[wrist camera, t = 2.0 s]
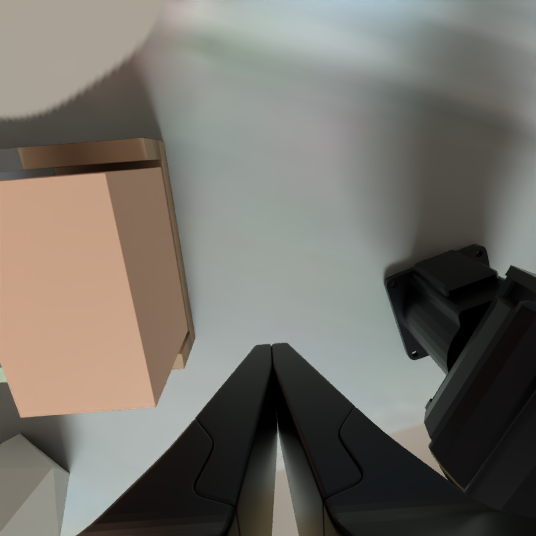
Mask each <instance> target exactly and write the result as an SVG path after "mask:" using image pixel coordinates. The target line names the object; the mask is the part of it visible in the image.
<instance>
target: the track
mask: <svg viewBox="0 0 536 536" xmlns="http://www.w3.org/2000/svg"><path fill="white" fill-rule="evenodd" d="M157 167H161V171H162V177H163V183H164V189H165V195H166V201H167V207H168V213H169V219H170V225H171V231H172V237H173V243H174V249H175V255H176V261H177V267H178V273H179V279H180V285H181V291H182V297H183V303H184V309H185V315H186V321H187V327H188V331H187V334H186V336H185V339H184V341H183V343H182V346H181V348H180V351H179V353H178V355H177V358H176V360H175V362H174V365H173V367H172V369H184V368H185V365H186V362H187V360H188V357H189V354H190V351H191V349H192V346H193V343H194V340H195V334H194V328H193V322H192V316H191V310H190V303H189V297H188V291H187V285H186V278H185V272H184V266H183V260H182V253H181V247H180V241H179V235H178V229H177V222H176V216H175V210H174V204H173V197H172V191H171V185H170V179H169V173H168V166H167V160H166V154H165V148H164V141H160V140H154V139H148V138H134V139H121V140H109V141H96V142H83V143H71V144H58V145H45V146H32V147H20V148H7V149H0V180H11V179H22V178H33V177H44V176H56V175H68V174H81V173H94V172H106V171H119V170H132V169H145V168H157ZM1 382H7V380H6V377H5V374H4V372H3V369H2V366H1V364H0V383H1Z"/></svg>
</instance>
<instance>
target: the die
mask: <svg viewBox="0 0 536 536" xmlns="http://www.w3.org/2000/svg"><path fill="white" fill-rule="evenodd" d="M69 475H70V474H69V473H68V472H67V471H66V470H64V469H63V468H62V467H61V466H59V465H58V464H57V463H56V462H54V461H53V460H52V459H51V458H49V457H48V456H47V455H46V454H45V453H43V452H42V451H41V450H40V449H38V448H37V447H36V446H35V445H33V444H32V443H31V442H30V441H29V440H27V439H26V438H25V437H24V436H22V435H21V434H18V435H16V436H14V437H12V438H10V439H9V440H7V441H5V442H3V443H1V444H0V536H60V534H61V527H62V521H63V514H64V508H65V501H66V494H67V488H68V481H69Z"/></svg>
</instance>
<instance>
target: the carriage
mask: <svg viewBox="0 0 536 536" xmlns="http://www.w3.org/2000/svg"><path fill="white" fill-rule="evenodd" d="M187 331H188V327H187V321H186V315H185V309H184V303H183V297H182V291H181V285H180V279H179V273H178V267H177V261H176V255H175V249H174V243H173V237H172V231H171V225H170V219H169V213H168V207H167V201H166V195H165V189H164V183H163V177H162V171H161V167H157V168H145V169H132V170H119V171H106V172H94V173H81V174H68V175H56V176H44V177H33V178H22V179H11V180H0V364H1V366H2V369H3V372H4V374H5V377H6V380H7V382H8V385H9V388H10V390H11V393H12V396H13V398H14V401H15V404H16V407H17V409H18V412H19V415H20V417H21V418H22V417H35V416H48V415H61V414H74V413H88V412H101V411H114V410H127V409H140V408H153V407H156V405H157V403H158V401H159V398H160V396H161V394H162V391H163V389H164V386H165V384H166V382H167V379H168V377H169V374H170V372H171V370H172V367H173V365H174V362H175V360H176V358H177V355H178V353H179V351H180V348H181V346H182V343H183V341H184V339H185V336H186V334H187Z"/></svg>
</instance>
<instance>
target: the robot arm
mask: <svg viewBox="0 0 536 536" xmlns="http://www.w3.org/2000/svg"><path fill="white" fill-rule="evenodd" d="M477 250H479V253H478V254H477V255H474V254H475V252H476V251H477ZM505 275H506V276H507V277H506V279H504V278H502V277H500V276H498V273H497V271H496V270H494V269H492V268H490V265H489V261H488V256H487V251H486V249H485V248H484V247H483V246H481V245H477V244H475V245H471V246H469V247H466V248H463V249H461V250H458V251H454V250H451V251H448V252H445V253H443V254H440V255H438V256H435V257H432V258H430V259H427V260H424V261H422V262H419V263H416V264H415V266H414V267H413V268H411V269H408V270H405V271H403V272H400V273H397V274H395V275H392V276H390V277H388V278H387V279H386V280H385V282H384V285H385V289H386V292H387V295H388V298H389V301H390V304H391V307H392V311H393V314H394V317H395V320H396V323H397V326H398V329H399V332H400V335H401V339H402V342H403V345H404V348H405V351H406V354H407V355H408V357H409V358H410V359H412V360H417V359H420V358H423V357H426V356H429V355H430V356H431V358H432V359H433V360H434V361H435V362H436V363H437V365H438V366H439V367H440V368H441V369H442V371H443V372H444V373H445V374H446V375H447V376H446V378H445V379H444V381H443V382H442V384H441V386H440V387H439V389H438V391H437V392H436V394H435V396H434V397H433V399H430V400H429V401H428V403H427V405H426V407H425V408H426V412H425V419H424V423H425V426H426V429H427V431H428V434H429V437H430V438H431V442H430V444H429V449H430V451H431V453H432V455H433V457H434V458H435V459H436V461H437V462H438V464H439V466H440V468H441V469H442V471H443V473H444V475H445V476H446V478H447V479H448V480H449V481H448V480H447V479H445V478H444V477H443V476H442V475H440V474H439V473H438V472H436V471H434V470H433V469H432V468H431V467H429V466H428V465H427V464H425V463H424V462H423V461H421V460H420V459H419V458H417V457H416V456H414V455H413V454H412V453H411V452H409V451H408V450H407V449H405V448H404V447H402V446H401V445H400V444H399V443H397V442H396V441H395V440H393V439H392V438H391V437H390V436H389V435H387V434H386V433H385V432H383V431H382V430H381V429H380V428H379V427H378V426H376V425H375V424H374V423H373V422H372V421H371V420H370V419H368V418H367V417H366V416H365V415H364V414H363V413H362V412H361V411H360V410H359V409H358V408H356V407H355V406H354V405H353V404H352V403H351V402H350V401H349V400H348V399H347V398H346V397H345V396H344V395H342V394H341V393H340V392H339V391H338V390H337V389H336V388H335V387H334V386H333V385H332V384H331V383H330V382H329V381H327V380H326V379H325V378H324V377H323V376H322V375H321V374H320V373H319V372H318V371H317V370H316V369H315V368H314V367H312V366H311V365H310V364H309V363H308V362H307V361H306V360H305V359H304V358H303V357H302V356H301V355H300V354H299V353H297V352H296V351H295V350H294V349H293V348H292V347H291V346H290V345H289V344H288V343H276V344H273V345H272V346H271V345H270V344H263V345H256V346H255V347H254V348H253V349H252V350H251V352H250V353H249V354H248V355H247V357H246V358H245V359H244V360H243V361H242V363H241V364H240V365H239V366H238V367H237V369H236V370H235V371H234V372H233V373H232V375H231V376H230V377H229V378H228V379H227V381H226V382H225V383H224V384H223V385H222V387H221V388H220V389H219V390H218V391H217V393H216V394H215V395H214V396H213V397H212V399H211V400H210V401H209V402H208V403H207V405H206V406H205V407H204V408H203V409H202V411H201V412H200V413H199V414H198V415H197V417H196V418H195V420H193V421H192V422H191V424H190V425H189V426H188V427H187V428H186V430H185V431H184V432H183V433H182V434H181V435H180V436H179V438H178V439H177V440H176V441H175V442H174V443H173V444H172V445H171V447H170V448H169V449H168V450H167V451H166V452H165V453H164V454H163V455H162V456H161V457H160V458H159V459H158V460H157V461H156V462H155V463H154V464H153V465H152V466H151V467H150V468H149V469H148V470H147V471H146V472H145V473H144V474H143V475H142V476H141V477H140V478H139V479H138V480H137V481H136V482H135V483H134V484H132V485H131V486H130V487H129V488H128V489H127V490H126V491H125V492H124V493H123V494H122V495H121V496H120V497H119V498H118V499H117V500H116V501H115V502H114V503H113V504H112V505H111V506H110V507H109V508H108V509H107V510H106V511H105V512H104V513H103V514H102V515H101V516H99V517H98V518H97V519H96V520H95V521H94V522H93V523H92V524H91V525H89V526H88V527H87V528H86V529H84V530H83V531H82V532H80V533H79V534H78V535H76V536H272V523H273V504H274V489H275V488H274V487H275V472H276V455H277V435H278V432H279V438H280V444H281V449H282V454H283V459H284V464H285V469H286V473H287V478H288V483H289V488H290V493H291V498H292V503H293V508H294V513H295V518H296V523H297V528H298V533H299V536H536V274H534V273H531V272H528V271H525V270H523V269H520V268H517V267H515V266H512V265H511V266H510V268H509V269H508V271H507V273H506V274H505ZM392 282H396V284H395V285H394V286H393V287H390V284H391V283H392ZM413 351H416V353H414V354H412V352H413ZM277 423H278V429H277Z"/></svg>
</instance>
